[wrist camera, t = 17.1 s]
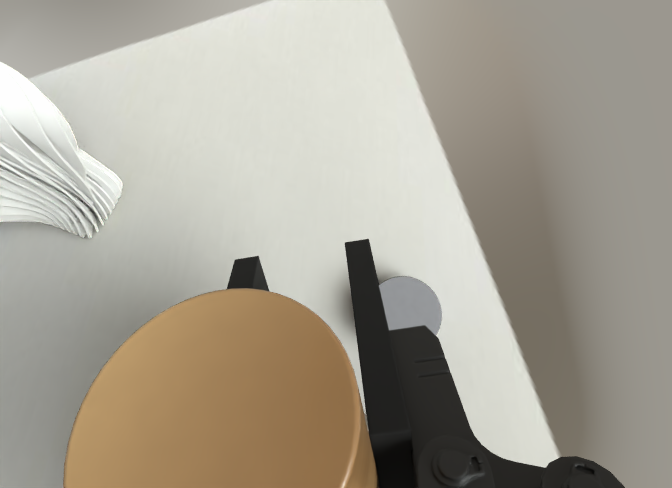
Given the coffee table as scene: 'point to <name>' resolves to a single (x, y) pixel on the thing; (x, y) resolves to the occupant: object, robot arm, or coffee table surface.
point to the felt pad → (410, 304)
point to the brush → (224, 402)
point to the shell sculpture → (47, 164)
